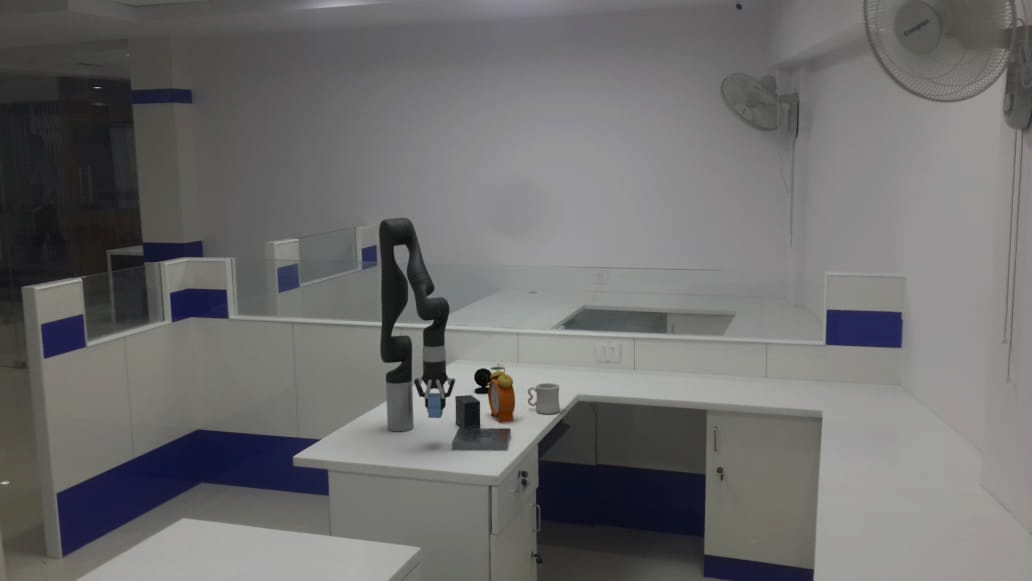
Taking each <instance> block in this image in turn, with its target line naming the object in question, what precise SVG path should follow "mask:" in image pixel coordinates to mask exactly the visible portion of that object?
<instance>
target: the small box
mask: <svg viewBox="0 0 1032 581" xmlns="http://www.w3.org/2000/svg"><path fill="white" fill-rule="evenodd" d="M455 425H456V426H457V427H459V428H481V401H480V400H479V399H477V398H476V397H475V396H473V395H472V394H468V395H466V394H465V395H455Z"/></svg>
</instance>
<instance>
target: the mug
mask: <svg viewBox="0 0 1032 581" xmlns="http://www.w3.org/2000/svg"><path fill="white" fill-rule="evenodd" d="M532 390H533V391H534V392H535V393H536V401H535V402H534V403H532V402H531V401H532V400H533V398H534V395H533V394H532V393H531V391H532ZM559 392H560V385H559V384H557V383H553V382H542V383H537V384H536V385H535V387H534V386H532V387H531V386H530V388H528V390H527V395H528V396H530V397H529V398H528V399H527V403H528V405H529V406H530V407H531V406H532V407H535V411H536V412H537V413H539V414H542V415H553V414H557V413H559V412H560V410H561V408H560V397H559V396H560V394H559Z"/></svg>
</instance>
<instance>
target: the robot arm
mask: <svg viewBox="0 0 1032 581" xmlns="http://www.w3.org/2000/svg"><path fill="white" fill-rule="evenodd" d="M378 238H379V239H378V240H379V250H380V251H379V252H380V261H381V262H380V265H381V267H380V268H381V270H380V271H381V272H380V273H381V277H380V278H381V279H380V280H381V282H380V284H381V285H380V299H381V300H380V301H381V329H380V345H379V346H380V349H379V351H380V358H381V360H382V362H383V363H385V364H393V363H400V364H399V365H398V366H397V367H396V368H393V369H391V370H389V371H388V372H387V373H386V374H385V393H386V420H387V421H386V422H387V423H386V424H387V430H388V431H392V432H406V431H410V430H413V429H414V425H415V424H414V423H415V422H414V399H413V398H414V397H413V396H414V395H413V393H414V391H413V383H414V385H415V388H416V391H417V394H418V396H419V397H420V398H424V407H425V409H426V410H427V409H428V396H429V394H430V393H431V391H432V390H433V389H434V390H438V393H440V395H441V410H444V409H445V408H446V406H447V405H446V403H447V401H446V400H447V398H450V396H451V394H452V392H453V390H454V386H455V383H456V378H454V377H453V378H451V377H448V374H447V355H446V354H447V353H446V352H447V350H446V344H445V343H446V342H445V339H446V338H445V337H446V336H445V335H446V334H445V332H446V329H447V328H446V327H447V323H448V320H449V315H450V305H449V301H448V300H447V299H446V298H445V297H442V296H437V297H431V298H428V296H430V295H432V294H433V293H434V291H435V290H436V289H435V284H434V282H433V279H432V278H431V275H430V273H429V271H428V269H427V266H426V264H425V262H424V257H423V253H422V249H421V246H420V242H419V239H418V236H417V233H416V229H415V227H414V224H413V222H412V221H411V219H409V218H408V217H395V218H386V219H383V220H381V221H380V224H379V227H378ZM398 246H406V248H407V251H408V261H407V266H406V276H405V273H404V272H403V270H401V268H400V266H399V264H398V263H397V261H396V257H395V247H398ZM409 285H410V288H411V290H412V292H413V295H414V300H415V301H414V302H415V308H416V313H417V316H418V317H419V318H420V319H421V321H425V322H426V321H427V322H429V321H432V323H431V324H430V325H428V326H426V327H425V328H423V330H422V341H423V342H422V345H423V348H422V375H421V377H416V378H415V379H414V381H413V342H412V340H411V339H412V338H411V337H410V336H409V335H405V334H404V335H394V336H393V335H392V333H393V329H394V326H395V324H396V322H397V321H398V319H399V317H400V316H401V314H402V313H403V311H404V309H405V308H406V306H407V304H408V301H409ZM446 382H447V384H448V389H447V392H445V387H444V385H445V384H446ZM422 383H424V384H425V386H426V389H425V391H424V390H423V387H422Z"/></svg>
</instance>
